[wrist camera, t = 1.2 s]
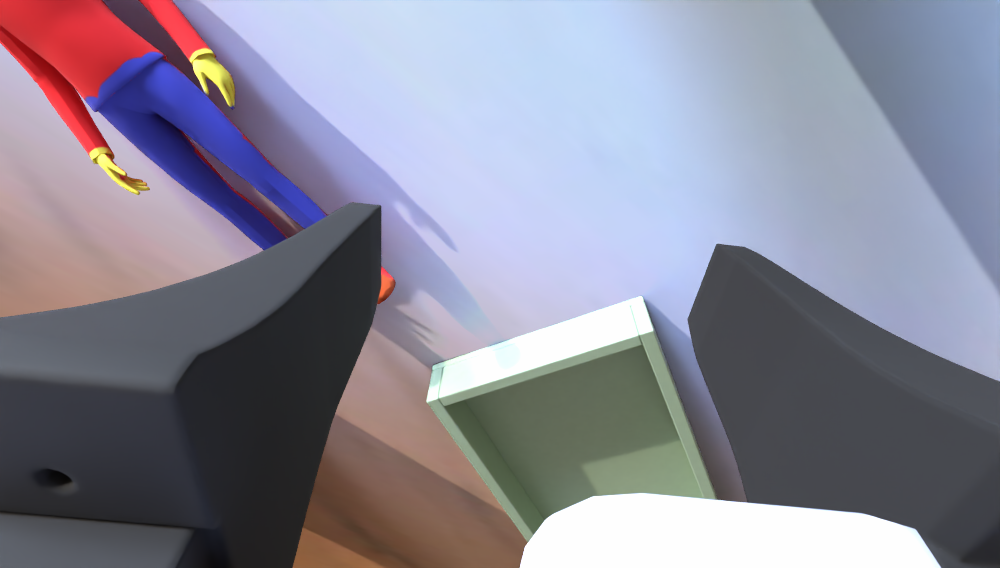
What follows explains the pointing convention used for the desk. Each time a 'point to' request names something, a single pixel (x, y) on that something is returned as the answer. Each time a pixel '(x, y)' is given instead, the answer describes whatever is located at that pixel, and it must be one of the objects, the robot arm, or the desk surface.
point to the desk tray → (571, 415)
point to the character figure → (150, 105)
